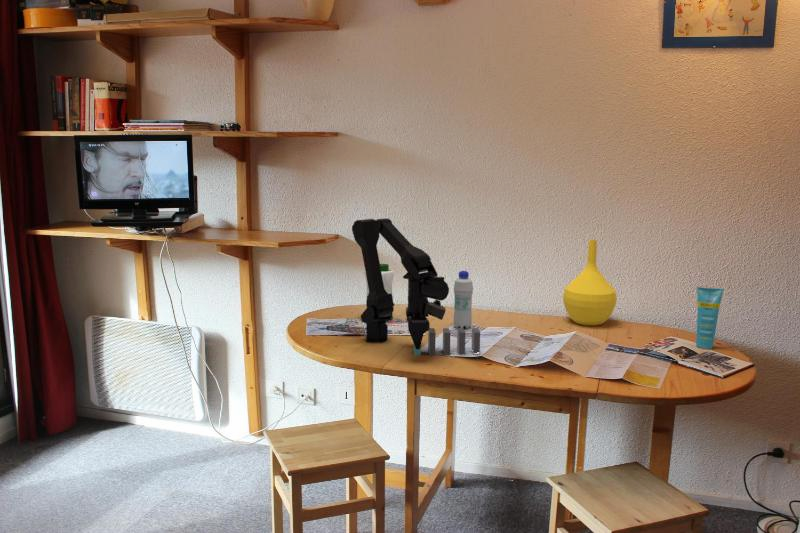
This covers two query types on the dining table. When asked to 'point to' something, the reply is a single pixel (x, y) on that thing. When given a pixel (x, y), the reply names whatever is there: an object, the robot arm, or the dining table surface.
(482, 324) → the dining table surface
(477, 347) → the domino
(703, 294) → the tube
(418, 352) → the domino
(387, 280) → the milk carton
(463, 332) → the domino
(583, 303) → the vase
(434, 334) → the domino
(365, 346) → the dining table surface
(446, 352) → the domino
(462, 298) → the bottle
